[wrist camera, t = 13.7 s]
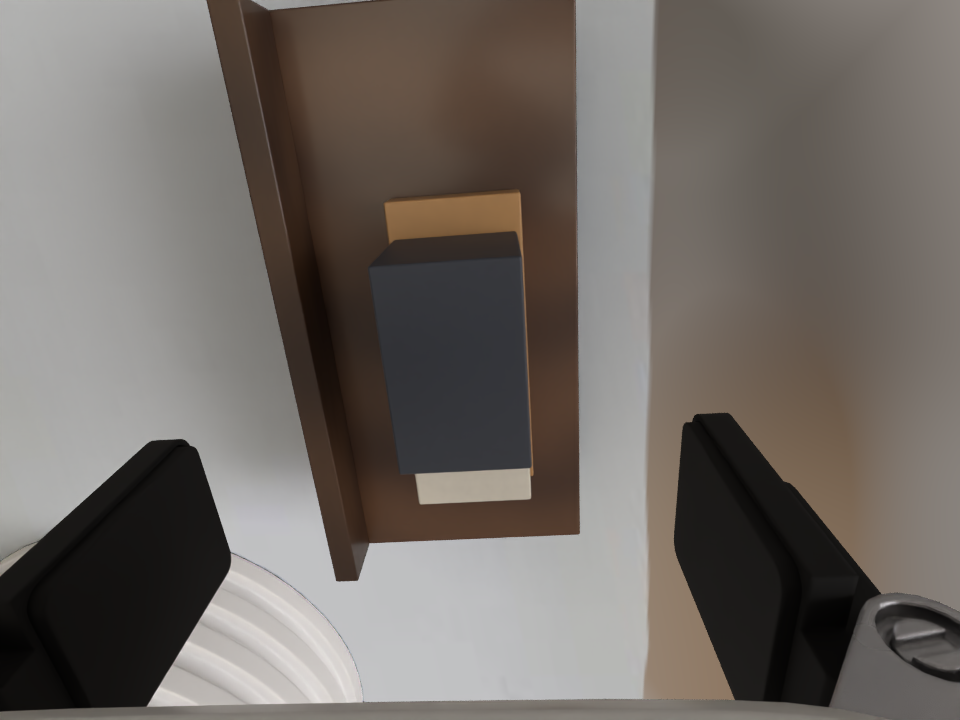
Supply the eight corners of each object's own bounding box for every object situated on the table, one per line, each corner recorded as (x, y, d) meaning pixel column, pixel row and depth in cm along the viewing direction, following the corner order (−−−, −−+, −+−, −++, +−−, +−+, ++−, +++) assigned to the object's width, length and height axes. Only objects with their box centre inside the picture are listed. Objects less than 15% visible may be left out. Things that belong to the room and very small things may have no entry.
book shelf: (299, 41, 24) (204, -5, 16) (556, 18, 23) (587, -42, 15) (374, 473, 32) (336, 582, 24) (564, 464, 31) (587, 572, 24)
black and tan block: (388, 198, 20) (351, 220, 15) (519, 188, 20) (527, 207, 15) (424, 466, 25) (405, 554, 19) (531, 461, 24) (541, 549, 19)
